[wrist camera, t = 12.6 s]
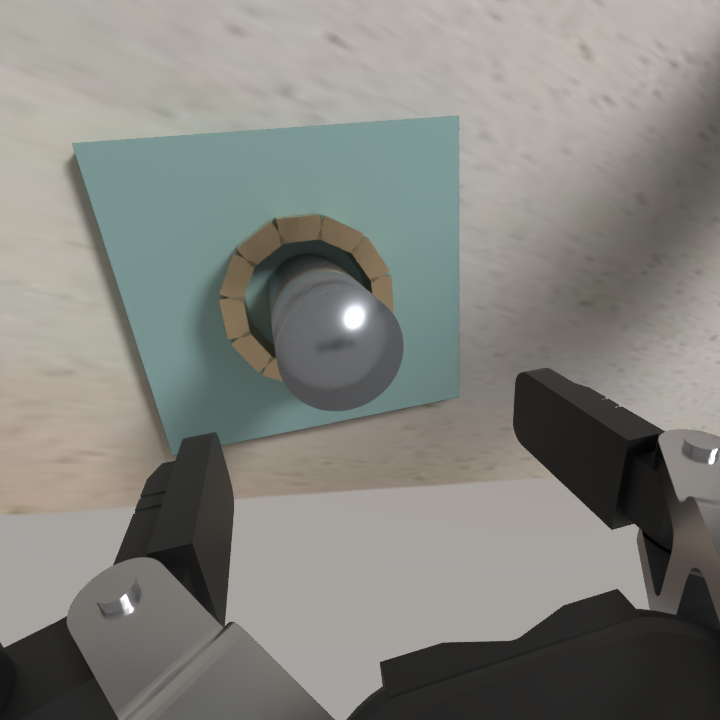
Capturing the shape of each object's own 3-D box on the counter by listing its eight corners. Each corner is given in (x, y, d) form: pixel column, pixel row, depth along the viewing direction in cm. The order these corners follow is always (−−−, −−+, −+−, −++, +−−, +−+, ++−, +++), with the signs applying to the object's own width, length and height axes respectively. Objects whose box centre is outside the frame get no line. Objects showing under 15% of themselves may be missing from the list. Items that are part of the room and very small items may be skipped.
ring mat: (451, 118, 24) (458, 115, 23) (453, 391, 31) (458, 396, 30) (80, 145, 21) (71, 143, 20) (175, 446, 28) (172, 455, 27)
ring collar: (374, 206, 24) (387, 207, 22) (385, 355, 28) (397, 369, 25) (207, 224, 22) (202, 227, 20) (242, 380, 26) (241, 398, 24)
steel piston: (345, 248, 24) (401, 282, 15) (352, 328, 26) (405, 399, 17) (260, 258, 23) (266, 300, 14) (274, 340, 25) (287, 421, 16)
